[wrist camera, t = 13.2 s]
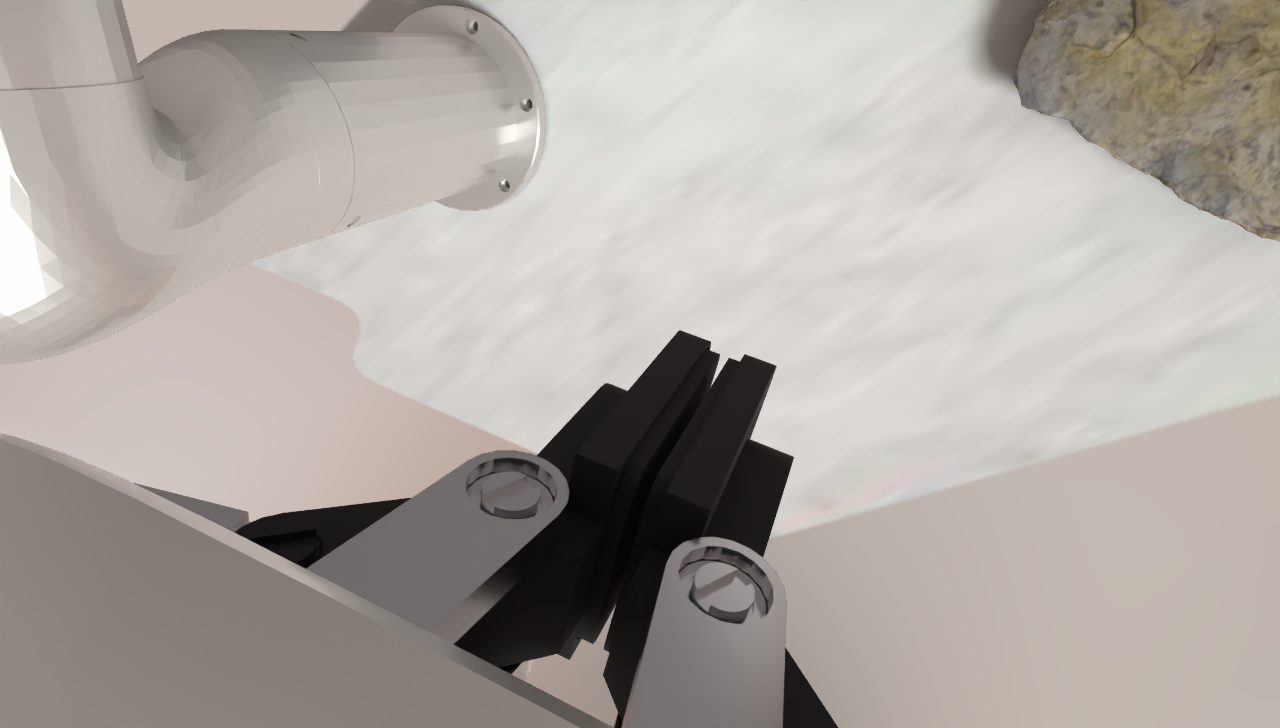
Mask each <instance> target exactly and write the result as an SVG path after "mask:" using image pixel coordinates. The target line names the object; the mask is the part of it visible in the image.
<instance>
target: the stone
mask: <svg viewBox="0 0 1280 728" xmlns="http://www.w3.org/2000/svg"><path fill="white" fill-rule="evenodd" d="M1034 24H1035V27H1034V29H1033V31H1032V33H1031V34H1030V36H1029V39H1028V41H1027V44H1026V46H1025V48H1024V51H1023V53H1022V56H1021V58H1020V61H1019V63H1018V65H1017V68H1016V70H1015V72H1014V74H1013V76H1012V79H1013V81H1014V84H1015V85H1016V87H1017V89H1018V91H1019V95H1020V98H1021V105H1022V106H1023V107H1025V108H1028V109H1032V110H1035V111H1038V112H1040V113H1041V114H1045V115H1050V116H1055V117H1059V118H1064V119H1068V120H1070V121H1071V123H1072V126H1073V127H1074V128H1075V129H1076V130H1077V131H1078V133H1079V134H1080V135H1082V136H1083V137H1084V138H1085V139H1086V140H1087V141H1088V142H1091V143H1094V144H1097V145H1099V146H1101V147H1103V148H1105V149H1106V150H1108V151H1109V152H1110V153H1111V154H1112V156H1113V157H1114V158H1116V159H1120V160H1122V161H1124V162H1126V163H1128V164H1130V165H1131V166H1132V167H1134V168H1136V169H1138V170H1140V171H1142V172H1143V173H1145V174H1150V175H1152V176H1154V177H1155V178H1157V179H1159V180H1160V181H1161V182H1162V183H1163V184H1164V185H1166V186H1167V187H1169V188H1171V189H1172V190H1173V191H1174V192H1175V194H1176V195H1177V196H1178V197H1179V198H1180V199H1181V200H1183V201H1185V202H1187V203H1189V204H1191V205H1194V206H1195V207H1197V208H1198V209H1199V210H1202V211H1206V212H1209V213H1210V214H1212V215H1214V216H1217V217H1219V218H1221V219H1226V220H1229V221H1232V222H1234V223H1236V224H1238V225H1240V226H1242V227H1243V228H1244V229H1245V230H1246V231H1249V232H1251V233H1254V234H1256V235H1258V236H1260V237H1261V238H1267V239H1273V240H1277V241H1280V0H1052V1H1051V2H1050V3H1049V5H1048V6H1046V7H1045V8H1043V9H1042V10H1040V12H1039V13H1038V15H1037V16H1036V18H1035V19H1034Z"/></svg>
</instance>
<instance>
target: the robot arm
mask: <svg viewBox="0 0 1280 728" xmlns="http://www.w3.org/2000/svg"><path fill="white" fill-rule="evenodd" d="M477 24H478V28H477ZM530 101H532V106H531V104H530ZM545 131H546V114H545V106H544V99H543V94H542V91H541V87H540V84H539V81H538V77H537V75H536V73H535V71H534V69H533V66H532V64H531V62H530V60H529V58H528V56H527V55H526V54H525V52H524V51H523V49H522V48H521V46H520V45H519V43H518V42H517V40H516V39H515V38H514V37H513V36H512V35H511V34H510V33H509V32H508V31H507V30H506V29H505V28H504V27H503V26H501V25H500V24H499V23H497V22H496V21H494V20H493V19H491V18H490V17H489V16H487V15H485V14H483V13H480V12H478V11H475V10H473V9H471V8H465V7H459V6H452V5H436V6H431V7H427V8H422V9H420V10H418V11H416V12H414V13H412V14H410V15H408V16H407V17H406V18H405V19H404V20H403V21H402V22H400V23H399V24H398V25H397V26H396V27H395V28H394V30H393V31H392V32H342V31H283V30H224V29H221V30H212V31H204V32H200V33H196V34H192V35H189V36H186V37H183V38H181V39H178V40H176V41H174V42H172V43H169V44H167V45H165V46H163V47H162V48H160V49H158V50H156V51H155V52H153V53H152V54H151V55H149V56H148V57H147V58H145V59H144V60H142V61H141V62H140V63H137V59H136V55H135V51H134V47H133V43H132V40H131V35H130V32H129V28H128V24H127V20H126V16H125V12H124V8H123V4H122V0H0V364H11V363H21V362H27V361H34V360H39V359H43V358H48V357H52V356H56V355H60V354H64V353H67V352H70V351H73V350H76V349H79V348H82V347H84V346H87V345H90V344H92V343H95V342H98V341H100V340H103V339H105V338H107V337H109V336H112V335H114V334H116V333H118V332H120V331H122V330H124V329H126V328H128V327H130V326H132V325H133V324H135V323H137V322H139V321H141V320H143V319H144V318H146V317H148V316H149V315H151V314H153V313H154V312H156V311H158V310H160V309H161V308H163V307H165V306H166V305H168V304H170V303H171V302H173V301H175V300H176V299H178V298H180V297H181V296H183V295H185V294H186V293H188V292H190V291H192V290H193V289H195V288H197V287H199V286H200V285H202V284H204V283H206V282H208V281H210V280H212V279H214V278H216V277H218V276H220V275H222V274H225V273H226V272H229V271H231V270H233V269H235V268H238V267H240V266H243V265H245V264H248V263H250V262H253V261H255V260H258V259H261V258H263V257H266V256H269V255H272V254H275V253H277V252H280V251H283V250H286V249H289V248H292V247H295V246H298V245H301V244H304V243H307V242H310V241H313V240H316V239H320V238H323V237H326V236H329V235H332V234H335V233H338V232H341V231H344V230H347V229H350V228H353V227H357V226H360V225H363V224H366V223H369V222H372V221H375V220H378V219H381V218H384V217H387V216H390V215H393V214H396V213H399V212H402V211H406V210H409V209H412V208H415V207H418V206H421V205H424V204H427V203H430V202H433V201H436V202H438V203H440V204H442V205H444V206H446V207H450V208H454V209H458V210H464V211H478V210H483V209H488V208H492V207H494V206H497V205H500V204H502V203H504V202H506V201H507V200H509V199H511V198H512V197H514V196H515V195H516V194H518V193H519V192H520V191H521V190H522V189H523V188H524V187H525V186H526V185H527V183H528V182H529V180H530V178H531V177H532V175H533V174H534V172H535V171H536V168H537V165H538V163H539V160H540V158H541V155H542V151H543V146H544V141H545ZM508 182H509V183H508ZM509 184H510V185H509ZM710 347H711V342H710V341H708V340H705V339H702V338H699V337H697V336H694V335H691V334H689V333H686V332H683V331H678V332H677V333H676V335H675V336H674V337H673V338H672V339H671V341H670V342H669V343H668V344H667V345H666V346H665V348H664V349H663V350H662V351H661V352H660V354H659V355H658V356H657V357H656V358H655V359H654V361H653V362H652V363H651V364H650V365H649V367H648V368H647V369H646V370H645V371H644V373H643V374H642V375H641V376H640V377H639V378H638V380H637V381H636V382H635V383H634V384H633V386H632V387H631V388H630V389H629V390H628V391H626V390H624V389H621V388H619V387H616V386H614V385H611V384H609V383H605V384H604V385H603V386H602V387H600V388H599V390H598V391H597V392H596V393H595V394H594V395H593V396H592V397H591V398H590V399H589V400H588V401H587V402H586V403H585V405H584V406H583V407H582V408H581V409H580V410H579V411H578V412H577V413H576V414H575V415H574V416H573V417H572V419H571V420H570V421H569V422H568V423H567V424H566V425H565V426H564V427H563V428H562V429H561V430H560V431H559V432H558V434H557V435H556V436H555V437H554V438H553V439H552V440H551V441H550V442H549V443H548V444H547V445H546V446H545V447H544V449H543V450H542V451H541V452H540V453H539V454H538V455H537V456H536V455H533V454H530V453H525V452H520V451H515V450H513V451H511V450H506V451H504V450H501V451H500V450H498V451H493V452H488V453H483V454H480V455H479V456H477V457H474V458H472V459H470V460H468V461H466V462H465V463H464V464H462V465H461V466H459V467H458V468H456V469H454V470H453V471H452V472H450V473H449V474H447V475H445V476H444V477H443V478H441V479H440V480H438V481H436V482H435V483H433V484H432V485H430V486H429V487H427V488H426V489H424V490H423V491H422V492H420V493H419V494H417V495H416V496H414V497H413V498H406V499H397V500H389V501H381V502H372V503H364V504H355V505H347V506H339V507H330V508H322V509H314V510H305V511H297V512H289V513H281V514H277V515H273V516H268V517H263V518H260V519H258V520H256V521H253V522H249V516H248V512H246V511H242V510H238V509H234V508H230V507H226V506H222V505H219V504H214V503H211V502H207V501H203V500H199V499H195V498H190V497H187V496H183V495H179V494H175V493H171V492H167V491H163V490H159V489H155V488H151V487H147V486H143V485H139V484H136V483H132V482H130V481H128V480H125V479H124V478H121V477H119V476H117V475H114V474H112V473H110V472H107V471H105V470H103V469H100V468H98V467H96V466H93V465H91V464H88V463H86V462H84V461H82V460H79V459H77V458H74V457H72V456H70V455H67V454H65V453H62V452H59V451H56V450H53V449H50V448H47V447H44V446H41V445H39V444H36V443H32V442H30V441H27V440H24V439H20V438H17V437H14V436H9V435H5V434H1V433H0V728H838V727H837V725H836V724H835V722H834V721H833V719H832V718H831V716H830V715H829V713H828V711H827V710H826V708H825V707H824V705H823V704H822V702H821V701H820V699H819V698H818V696H817V695H816V693H815V692H814V690H813V689H812V687H811V685H810V684H809V682H808V681H807V679H806V678H805V677H804V675H803V674H802V672H801V670H800V669H799V667H798V666H797V664H796V663H795V661H794V660H793V658H792V657H791V655H790V654H789V652H788V651H787V649H786V647H785V640H786V612H787V600H786V594H785V589H784V586H783V584H782V582H781V580H780V578H779V576H778V574H777V572H776V571H775V570H774V569H773V568H772V567H771V565H770V564H769V563H768V562H767V561H766V560H765V559H764V558H763V556H764V552H765V549H766V546H767V543H768V540H769V536H770V533H771V530H772V527H773V524H774V520H775V517H776V514H777V511H778V507H779V504H780V501H781V498H782V495H783V491H784V488H785V485H786V482H787V478H788V475H789V472H790V469H791V466H792V462H793V459H794V457H793V456H790V455H788V454H785V453H783V452H780V451H778V450H775V449H773V448H770V447H768V446H765V445H763V444H760V443H758V442H755V441H752V440H750V438H751V435H752V432H753V430H754V427H755V424H756V421H757V419H758V416H759V413H760V411H761V408H762V405H763V402H764V400H765V397H766V394H767V391H768V389H769V386H770V383H771V381H772V378H773V375H774V372H775V369H776V366H775V365H773V364H770V363H767V362H765V361H762V360H759V359H756V358H754V357H751V356H748V355H746V354H745V355H744V356H743V358H742V359H741V361H740V362H739V361H737V360H734V359H731V358H729V359H728V360H727V362H726V364H725V365H724V367H723V368H722V370H721V372H720V373H719V375H718V377H717V378H716V380H715V381H714V383H713V385H712V386H711V384H712V381H713V378H714V374H715V371H716V368H717V365H718V361H719V357H720V354H718V353H715V352H712V351H710ZM710 387H711V388H710ZM615 605H616V607H615ZM614 607H615V610H614V614H613V617H612V620H611V624H610V628H609V631H608V634H607V638H606V641H605V645H604V650H606V651H608V652H610V654H609V657H608V660H607V664H606V667H605V670H604V674H603V676H604V678H605V681H606V683H607V686H608V688H609V691H610V693H611V696H612V698H613V700H614V703H615V705H616V708H617V710H618V713H617V716H616V719H615V722H614V725H613V727H612V726H610V725H608V724H606V723H604V722H602V721H600V720H598V719H596V718H594V717H592V716H590V715H588V714H586V713H585V712H583V711H581V710H579V709H577V708H575V707H573V706H571V705H569V704H567V703H565V702H563V701H562V700H560V699H558V698H556V697H554V696H552V695H550V694H548V693H546V692H544V691H542V690H540V689H538V688H536V687H534V686H532V685H531V684H529V683H527V682H525V681H524V680H525V679H526V677H527V675H528V674H529V672H530V671H531V669H532V667H533V662H534V659H537V658H541V657H546V656H550V655H554V654H559V655H561V656H563V657H565V658H567V659H570V658H571V657H572V655H573V653H574V651H575V650H576V648H577V646H578V644H579V642H580V641H581V639H584V640H586V641H588V642H590V643H592V644H593V643H594V642H595V641H596V639H597V638H598V636H599V634H600V632H601V630H602V629H603V627H604V625H605V623H606V621H607V620H608V618H609V616H610V614H611V612H612V610H613V609H614Z"/></svg>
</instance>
